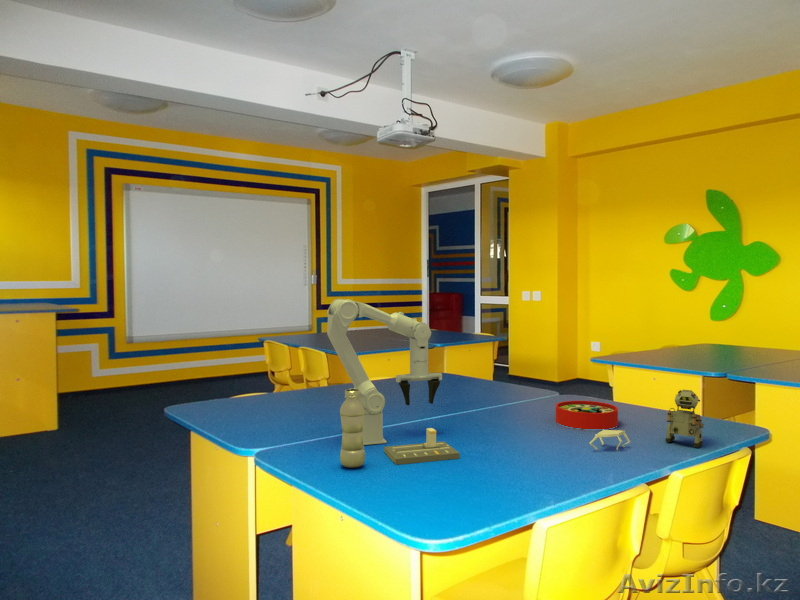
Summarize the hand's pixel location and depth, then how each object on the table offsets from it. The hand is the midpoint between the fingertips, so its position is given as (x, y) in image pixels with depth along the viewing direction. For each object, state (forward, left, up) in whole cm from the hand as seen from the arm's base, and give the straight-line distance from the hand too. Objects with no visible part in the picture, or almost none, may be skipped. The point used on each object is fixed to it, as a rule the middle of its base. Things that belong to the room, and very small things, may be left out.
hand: (419, 403), depth 179 cm
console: (-6, -20, -10) cm, 23 cm away
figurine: (+72, -32, -10) cm, 79 cm away
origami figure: (+46, -30, -10) cm, 56 cm away
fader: (-3, -20, -8) cm, 22 cm away
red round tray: (+58, -2, -10) cm, 59 cm away
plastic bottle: (-26, -24, -10) cm, 37 cm away
